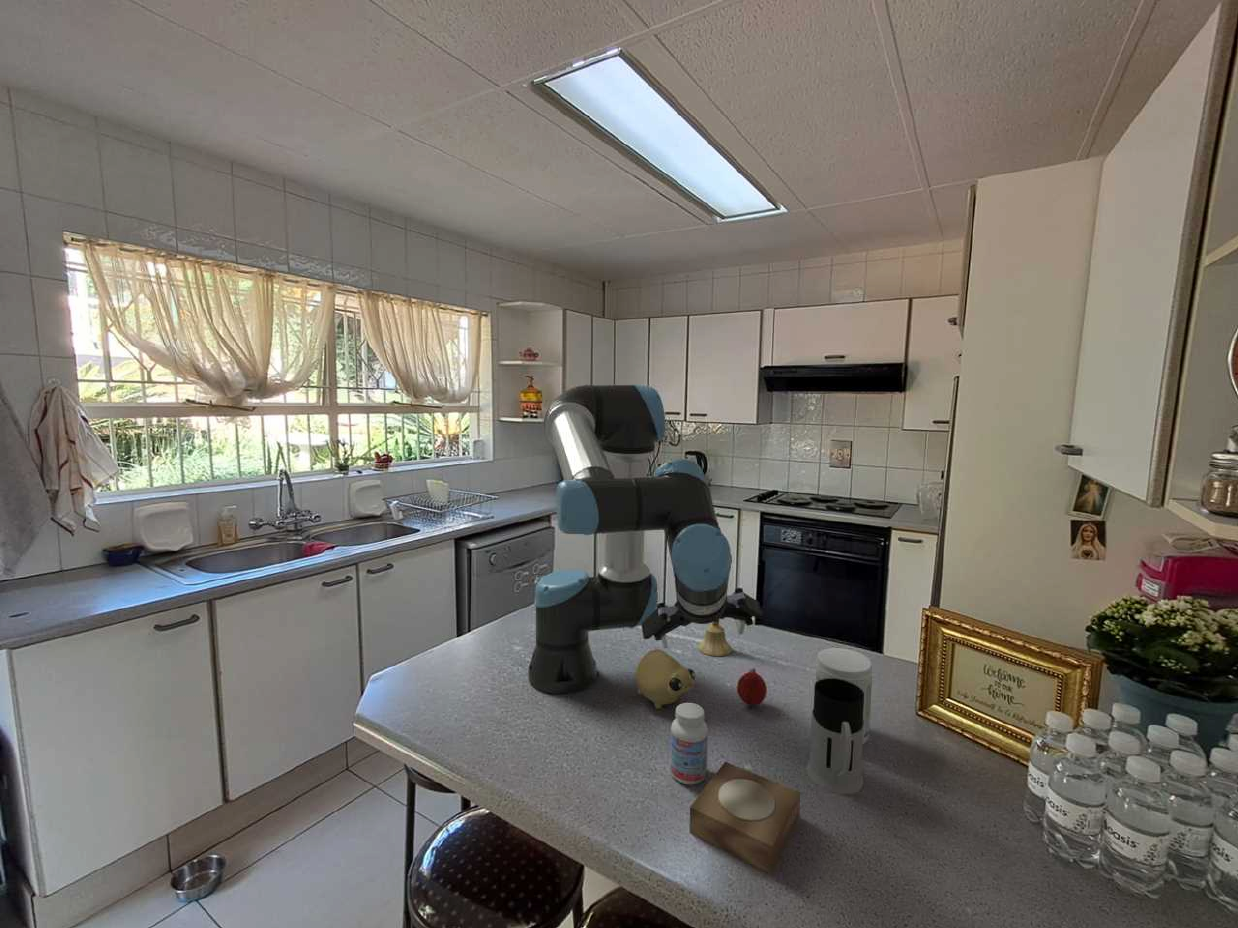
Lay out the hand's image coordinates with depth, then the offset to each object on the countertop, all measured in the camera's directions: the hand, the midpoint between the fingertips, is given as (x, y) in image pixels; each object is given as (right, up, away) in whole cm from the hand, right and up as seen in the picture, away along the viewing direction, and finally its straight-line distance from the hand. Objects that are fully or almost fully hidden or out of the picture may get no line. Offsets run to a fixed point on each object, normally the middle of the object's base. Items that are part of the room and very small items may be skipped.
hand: (701, 633), depth 99 cm
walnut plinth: (+4, -22, -19) cm, 29 cm away
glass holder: (+20, -21, -11) cm, 31 cm away
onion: (+12, -19, +12) cm, 25 cm away
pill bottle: (-3, -21, -8) cm, 23 cm away
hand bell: (+9, -15, +37) cm, 41 cm away
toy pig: (-6, -18, +13) cm, 23 cm away
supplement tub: (+26, -20, +3) cm, 33 cm away
